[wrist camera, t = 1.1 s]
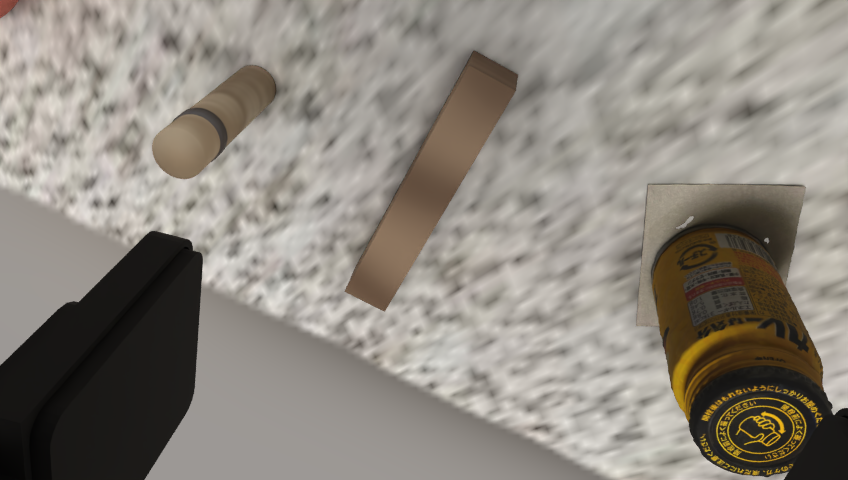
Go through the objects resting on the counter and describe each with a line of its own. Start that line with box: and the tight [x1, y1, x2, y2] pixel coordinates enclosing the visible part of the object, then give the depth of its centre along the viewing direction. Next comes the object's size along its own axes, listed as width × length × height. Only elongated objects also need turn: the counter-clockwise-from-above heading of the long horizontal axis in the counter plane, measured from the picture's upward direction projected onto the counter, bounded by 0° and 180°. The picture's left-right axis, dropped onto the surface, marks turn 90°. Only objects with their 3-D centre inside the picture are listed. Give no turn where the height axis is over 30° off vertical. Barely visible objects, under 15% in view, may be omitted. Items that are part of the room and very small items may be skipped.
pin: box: [152, 65, 276, 179], centre depth 35 cm, size 2×2×9 cm
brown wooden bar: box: [345, 51, 518, 312], centre depth 38 cm, size 14×2×2 cm, turn 153°
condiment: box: [636, 184, 833, 477], centre depth 34 cm, size 7×8×12 cm
